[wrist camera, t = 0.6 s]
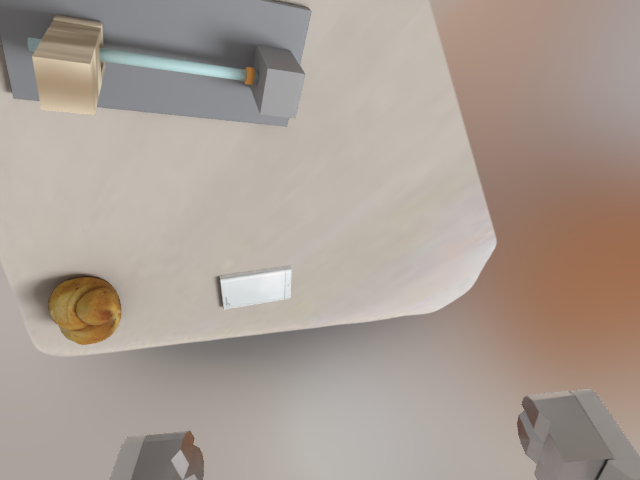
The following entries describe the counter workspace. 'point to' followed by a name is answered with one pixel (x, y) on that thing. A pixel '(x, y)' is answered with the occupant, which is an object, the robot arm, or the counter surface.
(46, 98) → the notched wooden block
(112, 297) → the bread roll
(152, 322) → the counter surface
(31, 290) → the counter surface
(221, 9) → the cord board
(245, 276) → the hard drive
